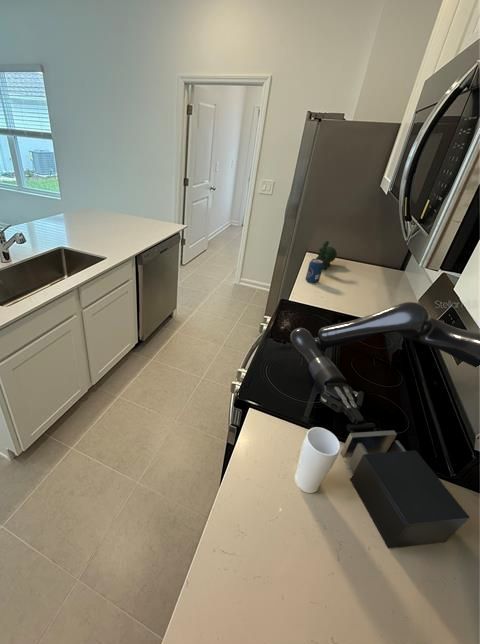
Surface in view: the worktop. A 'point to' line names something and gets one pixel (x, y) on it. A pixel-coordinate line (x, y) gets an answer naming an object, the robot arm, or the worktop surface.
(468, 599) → the worktop surface
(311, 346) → the robot arm
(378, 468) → the cabinet
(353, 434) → the drawer
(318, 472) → the drinking glass
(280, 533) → the worktop surface
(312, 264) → the soda can
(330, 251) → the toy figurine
